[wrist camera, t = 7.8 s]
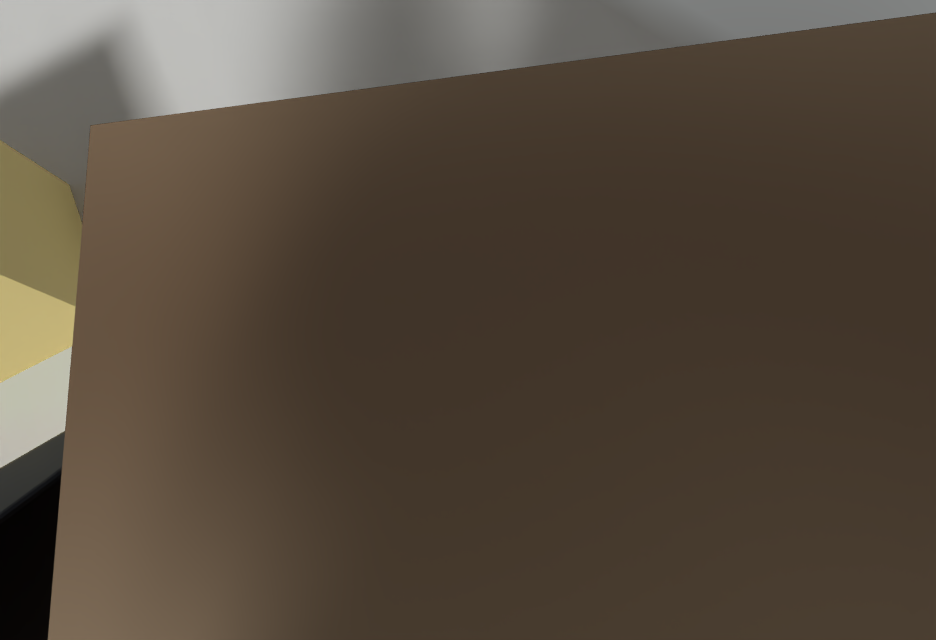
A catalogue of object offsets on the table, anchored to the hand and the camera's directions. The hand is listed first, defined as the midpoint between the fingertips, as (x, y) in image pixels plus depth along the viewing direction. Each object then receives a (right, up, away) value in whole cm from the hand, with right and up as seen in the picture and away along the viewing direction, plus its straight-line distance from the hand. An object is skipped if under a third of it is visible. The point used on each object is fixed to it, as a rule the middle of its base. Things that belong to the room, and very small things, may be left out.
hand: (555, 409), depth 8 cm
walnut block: (+1, -3, +7) cm, 8 cm away
